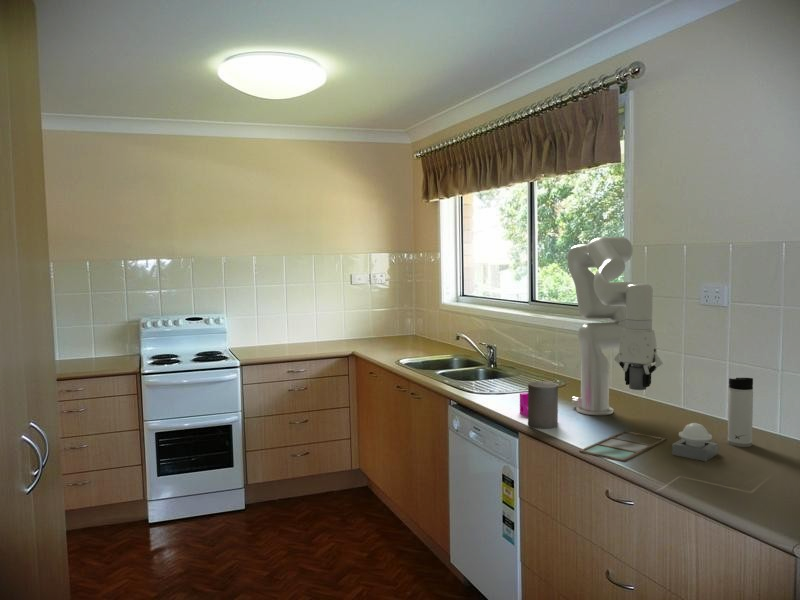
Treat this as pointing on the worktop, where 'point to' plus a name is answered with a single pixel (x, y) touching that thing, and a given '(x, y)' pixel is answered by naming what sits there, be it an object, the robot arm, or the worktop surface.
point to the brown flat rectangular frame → (619, 447)
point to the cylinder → (636, 376)
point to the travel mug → (740, 412)
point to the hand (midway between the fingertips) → (637, 384)
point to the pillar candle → (543, 405)
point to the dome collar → (695, 450)
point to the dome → (695, 435)
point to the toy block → (524, 404)
